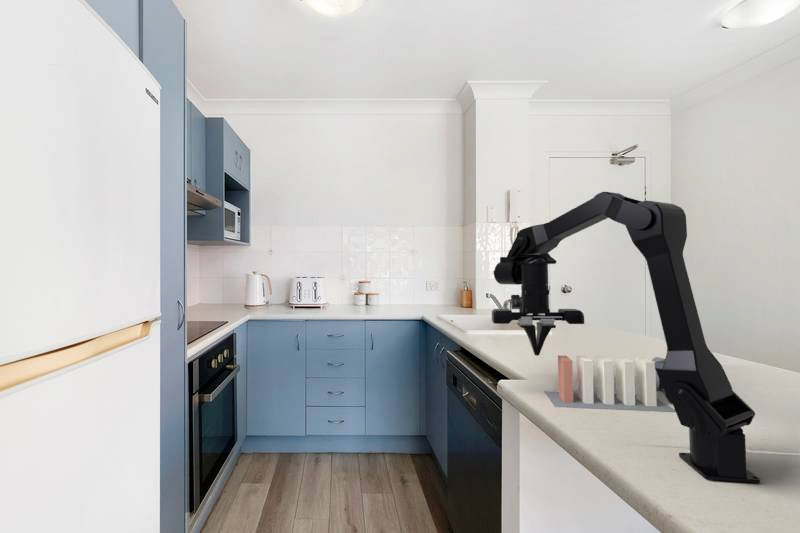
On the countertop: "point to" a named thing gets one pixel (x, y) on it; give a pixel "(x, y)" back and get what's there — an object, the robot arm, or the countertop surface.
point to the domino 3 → (605, 380)
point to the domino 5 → (646, 381)
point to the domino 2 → (585, 379)
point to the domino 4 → (625, 380)
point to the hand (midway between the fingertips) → (536, 355)
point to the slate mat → (599, 404)
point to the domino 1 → (565, 379)
